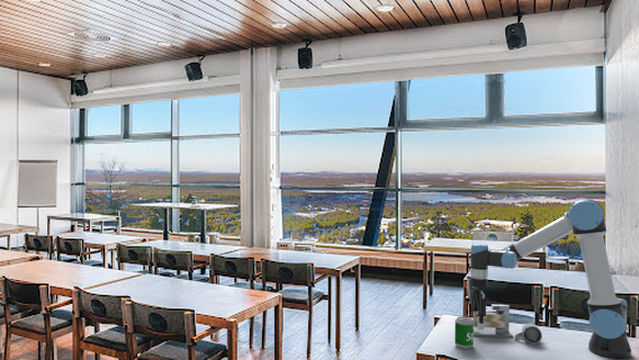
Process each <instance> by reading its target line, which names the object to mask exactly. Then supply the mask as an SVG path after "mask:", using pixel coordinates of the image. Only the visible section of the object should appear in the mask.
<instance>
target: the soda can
mask: <svg viewBox="0 0 639 360" xmlns="http://www.w3.org/2000/svg"><path fill="white" fill-rule="evenodd" d="M454 324H455V325H454V344H455V345H456V347H457V348H460V349H462V350H471V349H472V348H473V347H474V322H473V318H471V317H468V316H458V317H457V318H456V319H454Z"/></svg>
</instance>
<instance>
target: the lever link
mask: <svg viewBox="0 0 639 360" xmlns="http://www.w3.org/2000/svg"><path fill="white" fill-rule="evenodd" d="M504 312H505V310H503V309H496V310H495V312H487V311H486V316H484V327H489V328H505V315H504V314H503V313H504ZM477 315H478V312H473V311H472V320H473V322H474V327H477Z"/></svg>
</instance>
